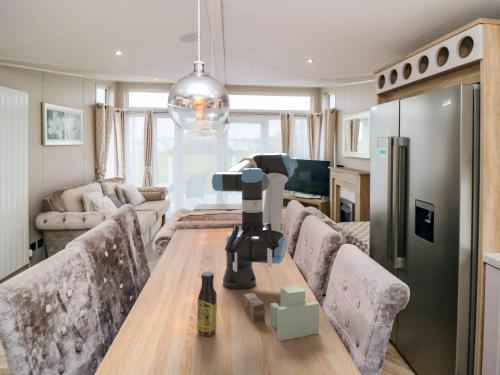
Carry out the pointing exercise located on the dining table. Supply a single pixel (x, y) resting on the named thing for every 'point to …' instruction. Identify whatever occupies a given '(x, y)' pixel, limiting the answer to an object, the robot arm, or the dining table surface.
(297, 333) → the pale green block
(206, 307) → the sauce bottle
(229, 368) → the dining table surface
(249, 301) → the brown boxy piece
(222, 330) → the dining table surface
